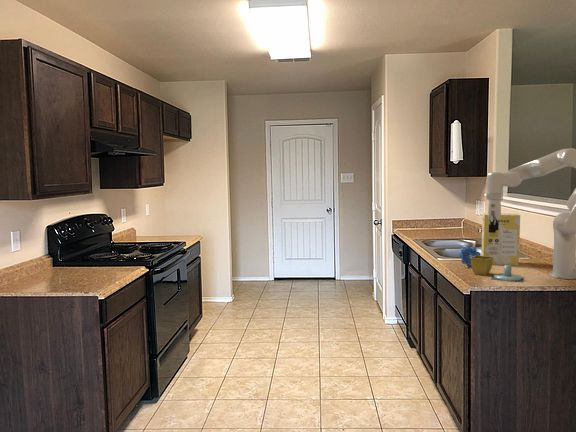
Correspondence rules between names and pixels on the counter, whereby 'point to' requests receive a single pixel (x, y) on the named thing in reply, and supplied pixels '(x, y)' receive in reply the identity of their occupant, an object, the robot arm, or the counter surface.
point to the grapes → (468, 255)
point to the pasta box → (502, 239)
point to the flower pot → (481, 264)
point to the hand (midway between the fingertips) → (493, 231)
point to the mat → (510, 281)
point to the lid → (507, 275)
